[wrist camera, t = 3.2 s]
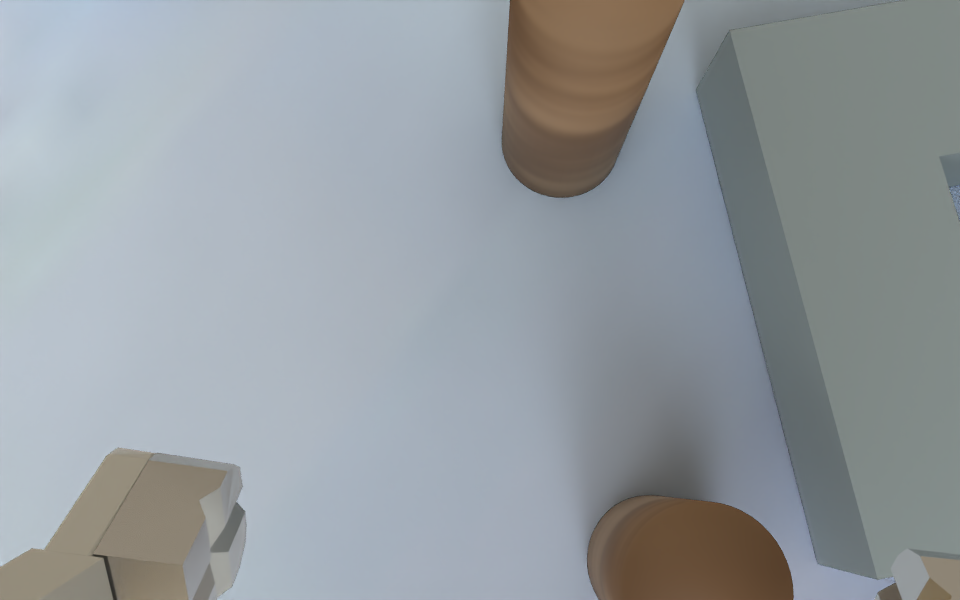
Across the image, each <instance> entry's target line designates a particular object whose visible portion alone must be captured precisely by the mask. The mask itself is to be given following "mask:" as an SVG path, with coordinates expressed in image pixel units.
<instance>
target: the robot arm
mask: <svg viewBox="0 0 960 600" xmlns="http://www.w3.org/2000/svg"><path fill="white" fill-rule="evenodd" d="M242 487H243V485H242V478H241V471H240V467H239V466H237V465H235V464H228V463H222V462H215V461H209V460H202V459H195V458H189V457H182V456H176V455H169V454H162V453H151V452H145V451H138V450H131V449H125V448H117V449H115V450H114V451H112V452H111V453H110V454H108V455H107V456H106V457H105V459H104V460H103V462H102V463H101V465H100V466H99V468H98V469H97V471H96V472H95V474H94V475H93V477H92V478H91V480H90V481H89V483H88V484H87V486H86V487H85V489H84V490H83V492H82V493H81V495H80V496H79V498H78V499H77V501H76V502H75V504H74V505H73V507H72V508H71V510H70V512H69V513H68V515H67V516H66V518H65V519H64V521H63V522H62V524H61V525H60V527H59V528H58V530H57V531H56V533H55V534H54V536H53V537H52V539H51V540H50V542H49V543H48V545H47V546H46V548H45V549H44V550H42V549H33V548H32V549H30V550H28V551H27V552H25V553H23V554H22V555H20V556H18V557H16V558H15V559H13V560H11V561H10V562H8V563H6V564H5V565H3V566H1V567H0V600H217V597H219V596H220V595H222V594H223V593H224V592H226V591H227V590H228V589H230V588H231V587H232V586H233V583H234V581H235V578H236V575H237V573H238V570H239V568H240V564H241V560H242V555H243V551H244V547H245V540H246V515H245V511H244V510H243V509H242V508H241V507H240V506H239V505H238V503H237V502H236V501H237V498H238V496H239V494H240V492H241V489H242ZM890 569H891V571H892V574H893V577H894V579H895V582H896V583H894V584H892V585H890V586H889V587H887V588H885V589H883V590H881V591H879V592H878V593H877V595H876V597H875V599H874V600H960V554H951V553H943V552H934V551H925V550H917V549H906V550H905V551H903V552H902V553H900V554H899V555H898V556H897V558H896V560H895V561H894V563H893V565H892V567H891V568H890Z"/></svg>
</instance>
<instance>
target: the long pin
mask: <svg viewBox="0 0 960 600" xmlns="http://www.w3.org/2000/svg"><path fill="white" fill-rule="evenodd" d="M683 3H684V0H510V10H509V27H508V43H507V60H506V77H505V93H504V110H503V126H502V150H503V155H504V158H505V161H506V163H507V165H508V167H509V169H510V171H511V172H512V173H513V175H514V176H515V177H516V178H517V179H518V180H519V181H520V182H521V183H522V184H523V185H525V186H526V187H527V188H529V189H531V190H533V191H534V192H537V193H539V194H542V195H546V196H550V197H561V198H565V197H573V196H577V195H581V194H583V193H586V192H588V191H590V190H592V189H593V188H595V187H596V186H598V185H599V184H600V183H601V182H602V181H603V180H604V179H605V178H606V177H607V176H608V174H609V173H610V172H611V170H612V168H613V166H614V164H615V162H616V159H617V157H618V155H619V152H620V150H621V148H622V145H623V143H624V141H625V138H626V136H627V134H628V131H629V129H630V127H631V124H632V122H633V120H634V117H635V115H636V113H637V110H638V108H639V106H640V103H641V101H642V99H643V96H644V94H645V92H646V89H647V87H648V85H649V82H650V80H651V78H652V75H653V73H654V71H655V68H656V66H657V64H658V61H659V59H660V57H661V54H662V52H663V50H664V47H665V45H666V43H667V40H668V38H669V36H670V33H671V31H672V29H673V26H674V24H675V22H676V19H677V17H678V15H679V12H680V10H681V8H682V5H683Z"/></svg>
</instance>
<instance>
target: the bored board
mask: <svg viewBox="0 0 960 600" xmlns="http://www.w3.org/2000/svg"><path fill="white" fill-rule="evenodd" d="M696 92H697V96H698V100H699V103H700V107H701V111H702V115H703V119H704V123H705V127H706V131H707V135H708V138H709V142H710V146H711V150H712V154H713V158H714V162H715V166H716V170H717V174H718V177H719V181H720V185H721V189H722V193H723V197H724V201H725V205H726V209H727V212H728V216H729V220H730V224H731V228H732V232H733V236H734V240H735V244H736V247H737V251H738V255H739V259H740V263H741V267H742V271H743V275H744V279H745V283H746V286H747V290H748V294H749V298H750V302H751V306H752V310H753V314H754V318H755V321H756V325H757V329H758V333H759V337H760V341H761V345H762V349H763V353H764V357H765V360H766V364H767V368H768V372H769V376H770V380H771V384H772V388H773V392H774V395H775V399H776V403H777V407H778V411H779V415H780V419H781V423H782V427H783V431H784V434H785V438H786V442H787V446H788V450H789V454H790V458H791V462H792V466H793V469H794V473H795V477H796V481H797V485H798V489H799V493H800V497H801V501H802V504H803V508H804V512H805V516H806V520H807V524H808V528H809V532H810V536H811V540H812V543H813V547H814V551H815V555H816V559H817V563H818V564H819V565H823V566H827V567H831V568H835V569H838V570H842V571H846V572H850V573H854V574H858V575H861V576H865V577H869V578H873V579H877V580H879V579H884V578H889V577H893V574H892V571H891V569H890V568H891V567H892V565H893V563H894V561H895V560H896V558H897V556H898V555H899V554H900V553H902V552H903V551H905V550H906V549H917V550H925V551H934V552H943V553H951V554H960V221H959V218H958V215H957V212H956V209H955V206H954V202H953V199H952V196H951V193H950V190H949V187H952V186H958V185H960V0H902V1H896V2H890V3H885V4H879V5H873V6H867V7H861V8H855V9H850V10H844V11H838V12H832V13H826V14H821V15H815V16H809V17H803V18H797V19H791V20H786V21H780V22H774V23H768V24H762V25H757V26H751V27H745V28H739V29H733V30H729V32H728V34H727V36H726V37H725V39H724V41H723V43H722V45H721V46H720V48H719V50H718V52H717V53H716V55H715V57H714V59H713V61H712V62H711V64H710V66H709V68H708V69H707V71H706V73H705V75H704V77H703V78H702V80H701V82H700V84H699V86H698V87H697V89H696Z"/></svg>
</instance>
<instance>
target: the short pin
mask: <svg viewBox="0 0 960 600" xmlns="http://www.w3.org/2000/svg"><path fill="white" fill-rule="evenodd" d="M587 567H588V574H589V578H590V581H591V584H592V587H593V589H594V592H595V593H596V595H597V597H598V599H599V600H793V598H794V595H793V583H792V577H791V573H790V569H789V566H788V563H787V560H786V558H785V556H784V554H783V552H782V550H781V548H780V547H779V545H778V543H777V542H776V540H775V539H774V538H773V536H772V535H771V534H770V533H769V531H767V530H766V529H765V528H764V527H763V526H762V525H761V524H760V523H759V522H758V521H757V520H755V519H754V518H753V517H751V516H750V515H748V514H746V513H745V512H743V511H741V510H739V509H736V508H734V507H732V506H728V505H725V504H721V503H715V502H708V501H699V500H691V499H682V498H673V497H664V496H655V495H644V496H637V497H633V498H629V499H627V500H625V501H622V502H620V503H619V504H617V505H615V506H614V507H613V508H611V509H610V510H609V511H608V512H607V513H606V514H605V515H604V516H603V517H602V518H601V520H600V521H599V522H598V524H597V526H596V527H595V529H594V531H593V533H592V536H591V539H590V542H589V546H588V554H587Z"/></svg>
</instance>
